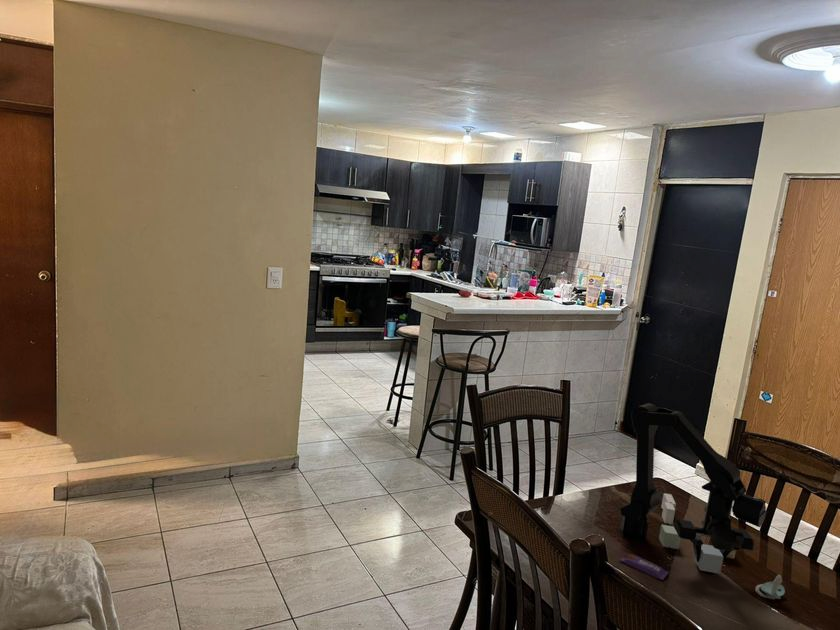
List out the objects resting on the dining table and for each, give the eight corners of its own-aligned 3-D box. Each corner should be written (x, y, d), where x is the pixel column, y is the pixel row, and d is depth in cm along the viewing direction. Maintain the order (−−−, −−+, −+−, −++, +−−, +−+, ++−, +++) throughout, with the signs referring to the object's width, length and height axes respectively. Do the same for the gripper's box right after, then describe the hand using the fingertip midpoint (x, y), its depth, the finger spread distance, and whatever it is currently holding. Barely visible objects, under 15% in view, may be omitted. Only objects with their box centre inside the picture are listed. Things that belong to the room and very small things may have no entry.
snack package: (669, 569, 152) (663, 576, 149) (668, 575, 153) (662, 583, 149) (626, 550, 160) (619, 557, 156) (625, 556, 160) (618, 563, 156)
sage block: (662, 546, 166) (665, 532, 165) (658, 538, 170) (661, 524, 170) (678, 549, 165) (681, 535, 165) (674, 541, 170) (677, 527, 169)
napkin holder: (659, 503, 194) (662, 487, 193) (693, 519, 186) (696, 502, 185) (636, 514, 185) (639, 498, 184) (670, 531, 176) (673, 514, 175)
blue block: (700, 570, 154) (703, 553, 153) (694, 559, 159) (697, 543, 158) (720, 573, 153) (723, 556, 152) (713, 563, 158) (717, 546, 157)
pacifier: (751, 594, 148) (777, 606, 143) (755, 572, 147) (781, 583, 143) (759, 583, 153) (785, 594, 149) (763, 562, 152) (789, 572, 148)
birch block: (717, 556, 164) (720, 541, 163) (712, 547, 168) (714, 533, 168) (734, 559, 163) (737, 544, 163) (728, 550, 168) (731, 536, 167)
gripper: (690, 518, 147) (680, 574, 149) (768, 531, 144) (756, 587, 147) (678, 498, 158) (668, 550, 160) (751, 510, 155) (739, 562, 158)
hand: (707, 563), depth 156 cm, fingers closed on blue block, 5 cm apart
